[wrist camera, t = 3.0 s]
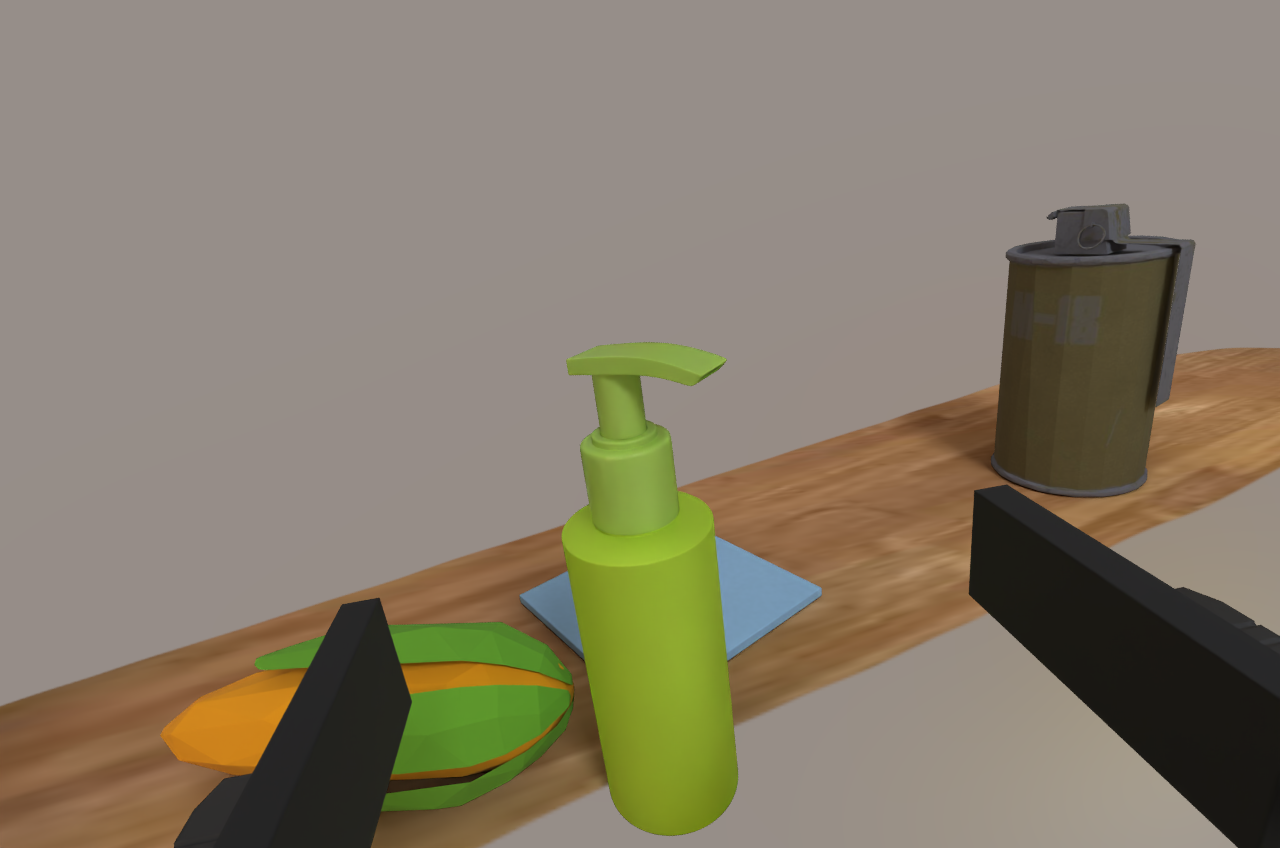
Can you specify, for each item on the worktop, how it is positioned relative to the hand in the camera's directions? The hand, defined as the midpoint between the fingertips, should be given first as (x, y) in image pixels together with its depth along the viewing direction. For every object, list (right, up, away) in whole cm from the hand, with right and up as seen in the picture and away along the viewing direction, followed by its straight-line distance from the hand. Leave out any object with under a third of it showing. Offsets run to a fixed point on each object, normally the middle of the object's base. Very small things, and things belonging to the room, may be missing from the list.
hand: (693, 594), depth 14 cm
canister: (+33, 0, +37) cm, 50 cm away
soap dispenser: (+1, -12, +15) cm, 19 cm away
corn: (-14, -14, +17) cm, 26 cm away
